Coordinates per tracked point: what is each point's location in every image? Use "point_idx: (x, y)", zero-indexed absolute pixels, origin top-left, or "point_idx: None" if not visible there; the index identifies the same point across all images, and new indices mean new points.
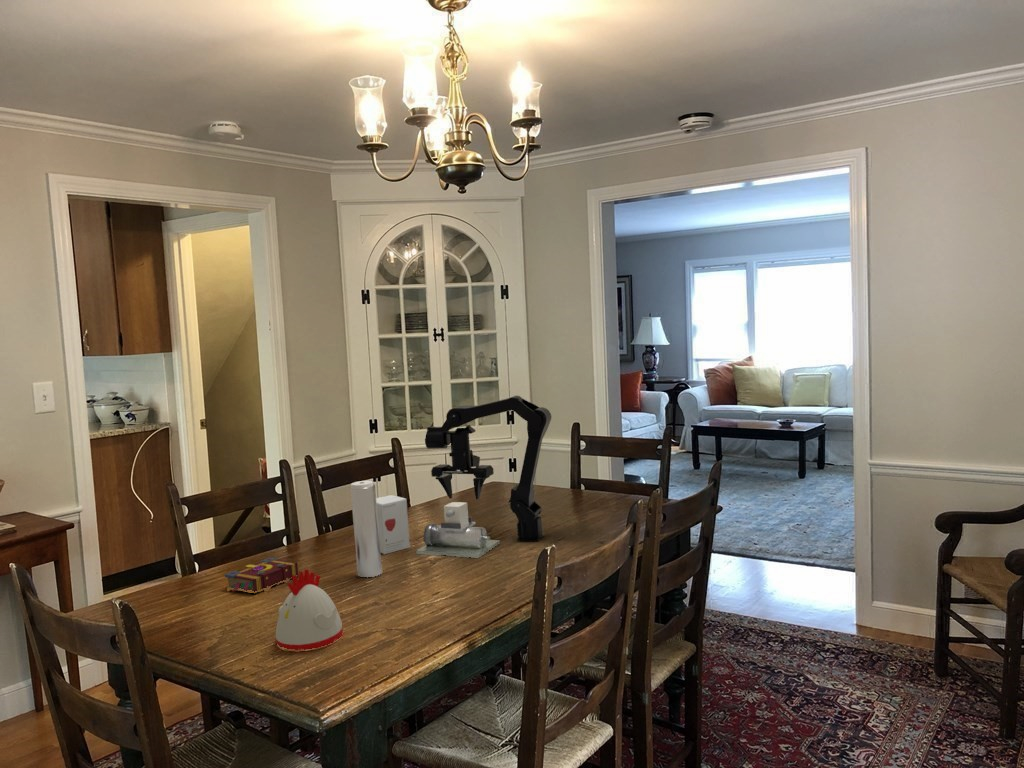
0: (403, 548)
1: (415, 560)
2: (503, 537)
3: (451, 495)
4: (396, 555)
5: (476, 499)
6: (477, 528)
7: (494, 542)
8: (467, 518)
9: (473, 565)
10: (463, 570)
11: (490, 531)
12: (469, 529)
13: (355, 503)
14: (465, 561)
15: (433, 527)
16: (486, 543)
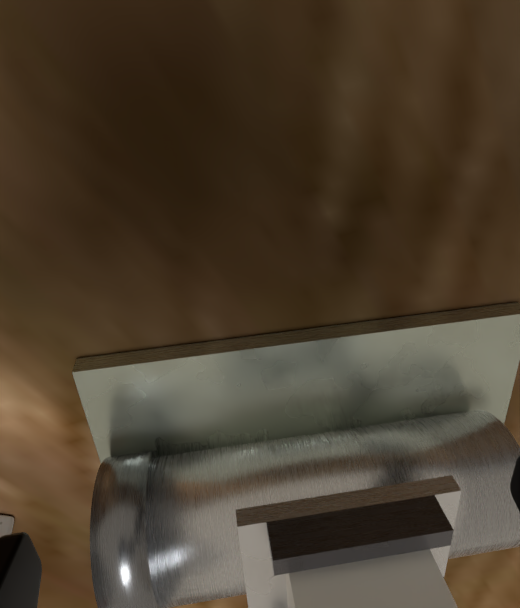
0: None
1: (203, 604)
2: (505, 166)
3: (18, 592)
4: (58, 600)
5: (513, 492)
6: (507, 544)
7: (508, 356)
8: (433, 570)
9: (479, 560)
10: (460, 600)
11: (336, 21)
12: (450, 557)
13: None
14: None
15: (169, 606)
16: (465, 386)
